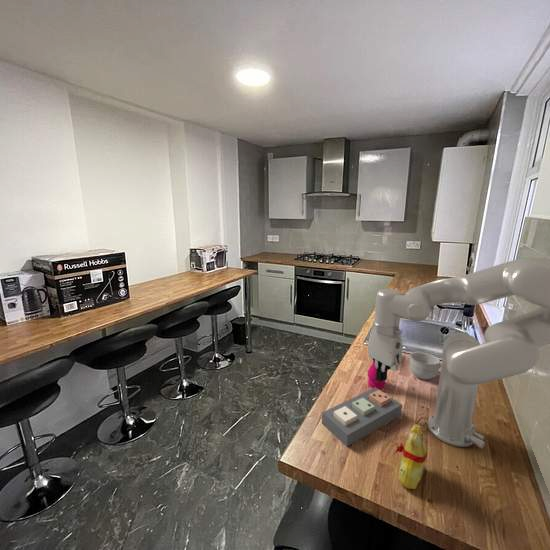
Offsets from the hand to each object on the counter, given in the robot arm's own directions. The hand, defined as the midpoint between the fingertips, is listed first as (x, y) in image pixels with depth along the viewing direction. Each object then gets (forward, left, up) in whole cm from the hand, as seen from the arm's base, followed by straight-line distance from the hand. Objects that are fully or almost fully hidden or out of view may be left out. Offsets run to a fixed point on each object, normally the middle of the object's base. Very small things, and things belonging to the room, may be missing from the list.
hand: (380, 379), depth 97 cm
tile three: (0, 0, -10) cm, 10 cm away
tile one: (0, +16, -10) cm, 19 cm away
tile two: (0, +8, -10) cm, 13 cm away
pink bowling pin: (+10, -11, -12) cm, 19 cm away
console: (0, +8, -12) cm, 14 cm away
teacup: (+3, -33, -12) cm, 35 cm away
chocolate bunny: (-20, +13, -12) cm, 27 cm away
